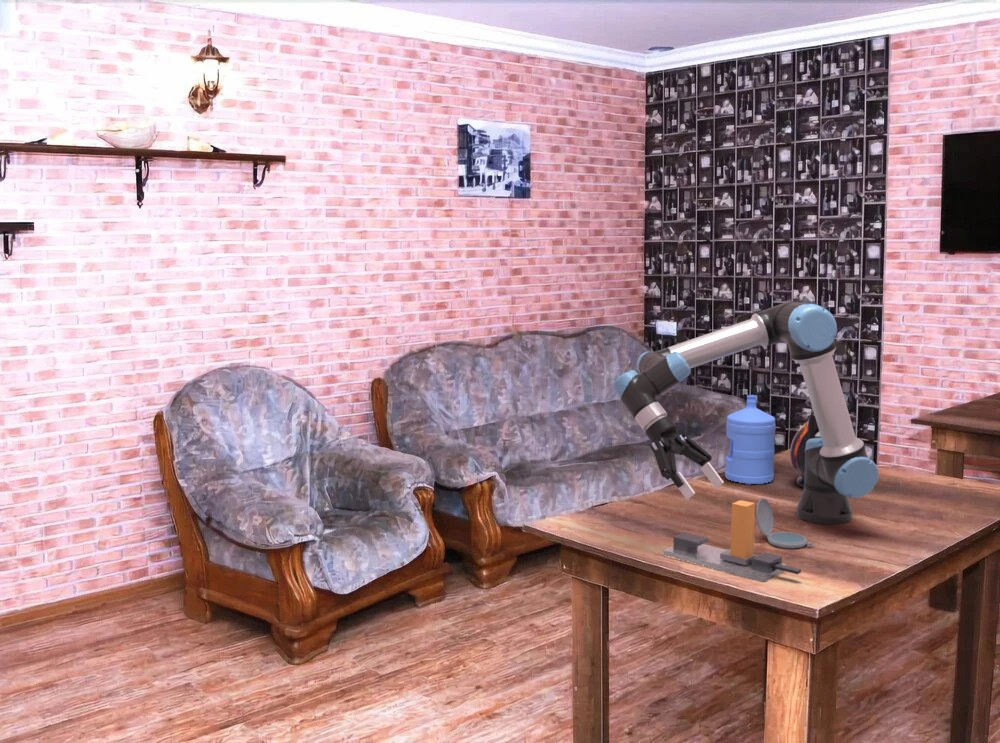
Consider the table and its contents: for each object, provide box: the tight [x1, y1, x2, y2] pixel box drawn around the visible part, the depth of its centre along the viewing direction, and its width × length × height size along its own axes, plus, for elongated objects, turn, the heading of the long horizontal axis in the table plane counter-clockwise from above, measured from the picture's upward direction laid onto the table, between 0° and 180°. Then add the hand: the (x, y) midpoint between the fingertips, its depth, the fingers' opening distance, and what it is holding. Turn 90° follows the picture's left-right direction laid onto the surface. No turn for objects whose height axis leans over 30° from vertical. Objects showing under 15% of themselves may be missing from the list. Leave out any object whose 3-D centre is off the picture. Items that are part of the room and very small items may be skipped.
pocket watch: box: [755, 498, 816, 550], centre depth 260 cm, size 10×11×15 cm
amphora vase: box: [789, 398, 857, 489], centre depth 315 cm, size 22×22×28 cm
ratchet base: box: [662, 532, 787, 583], centre depth 245 cm, size 28×11×4 cm, turn 47°
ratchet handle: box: [720, 499, 802, 575], centre depth 237 cm, size 20×5×14 cm, turn 47°
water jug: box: [724, 394, 777, 485], centre depth 325 cm, size 16×16×28 cm
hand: (705, 491), depth 247 cm, fingers open, 13 cm apart
